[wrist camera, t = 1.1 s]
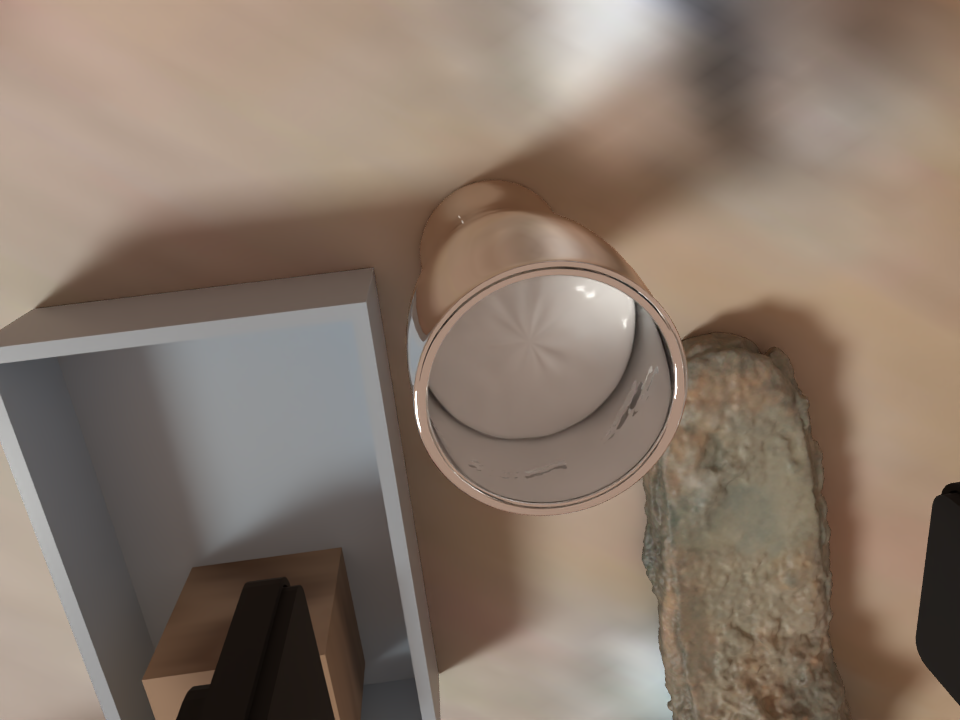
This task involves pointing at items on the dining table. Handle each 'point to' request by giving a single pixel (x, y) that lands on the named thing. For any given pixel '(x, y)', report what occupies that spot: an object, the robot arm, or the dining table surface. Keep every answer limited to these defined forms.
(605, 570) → the dining table surface
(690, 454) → the elongated rock
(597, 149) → the dining table surface
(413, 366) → the beer glass
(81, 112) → the dining table surface
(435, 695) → the tote
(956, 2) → the dining table surface
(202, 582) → the walnut block
